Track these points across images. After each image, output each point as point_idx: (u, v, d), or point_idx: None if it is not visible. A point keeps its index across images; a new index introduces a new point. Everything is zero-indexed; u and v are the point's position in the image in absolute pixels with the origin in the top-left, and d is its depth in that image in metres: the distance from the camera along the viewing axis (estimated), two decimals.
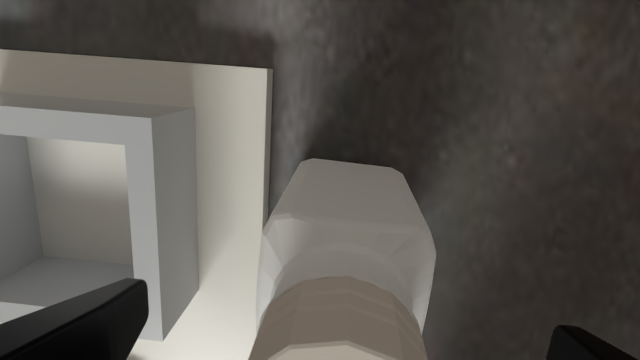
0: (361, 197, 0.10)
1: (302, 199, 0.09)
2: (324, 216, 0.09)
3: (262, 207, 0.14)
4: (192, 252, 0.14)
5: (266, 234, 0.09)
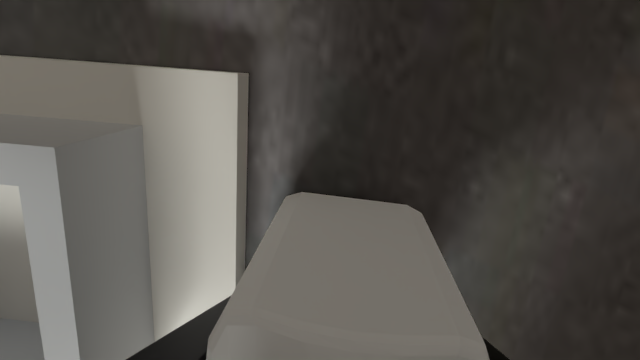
0: (369, 270, 0.07)
1: (276, 279, 0.06)
2: (308, 322, 0.05)
3: (236, 256, 0.11)
4: (143, 314, 0.11)
5: (213, 349, 0.05)
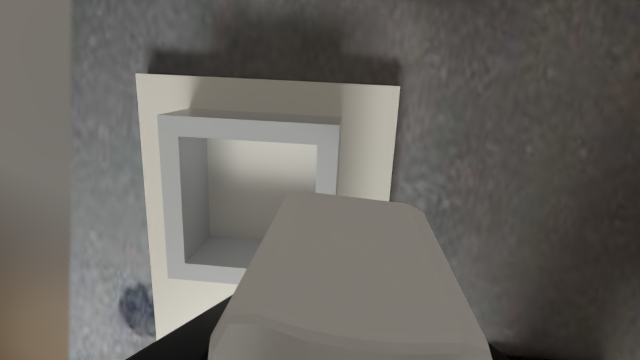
0: (371, 269, 0.07)
1: (278, 277, 0.06)
2: (310, 319, 0.05)
3: (389, 192, 0.18)
4: None
5: (214, 348, 0.05)
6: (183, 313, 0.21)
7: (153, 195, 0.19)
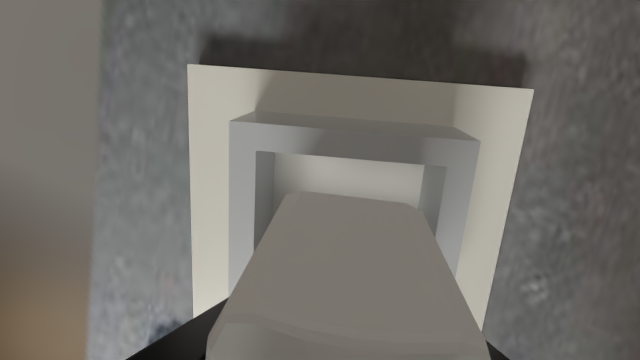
0: (369, 268, 0.07)
1: (276, 277, 0.06)
2: (307, 319, 0.05)
3: None
4: None
5: (211, 347, 0.05)
6: None
7: (201, 218, 0.15)
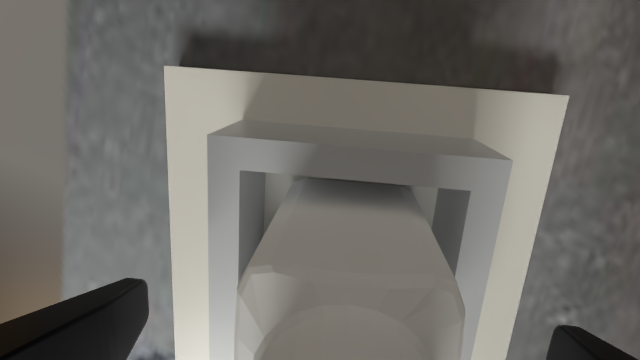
0: (364, 233, 0.08)
1: (288, 240, 0.07)
2: (315, 268, 0.06)
3: None
4: None
5: (241, 294, 0.07)
6: None
7: (182, 241, 0.13)
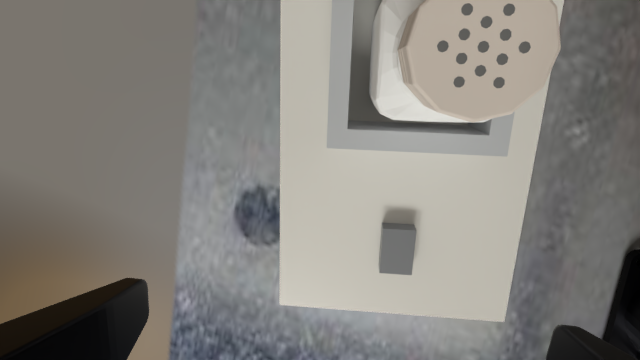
0: None
1: None
2: None
3: None
4: None
5: (385, 3, 0.11)
6: (312, 211, 0.20)
7: (289, 76, 0.18)
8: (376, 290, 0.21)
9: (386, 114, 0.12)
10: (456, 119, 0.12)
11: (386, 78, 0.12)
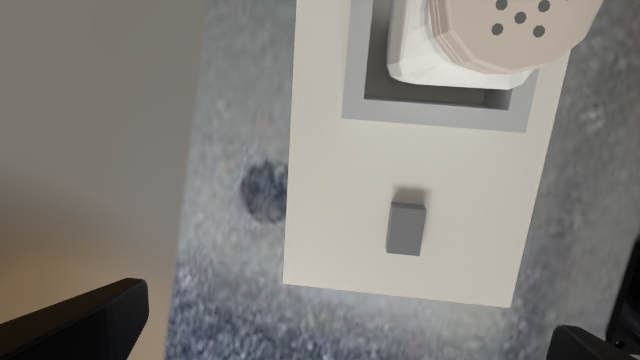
0: None
1: None
2: None
3: None
4: None
5: None
6: (320, 188, 0.19)
7: (303, 47, 0.18)
8: (382, 272, 0.20)
9: (409, 77, 0.12)
10: (481, 84, 0.11)
11: (411, 39, 0.11)
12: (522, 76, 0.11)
